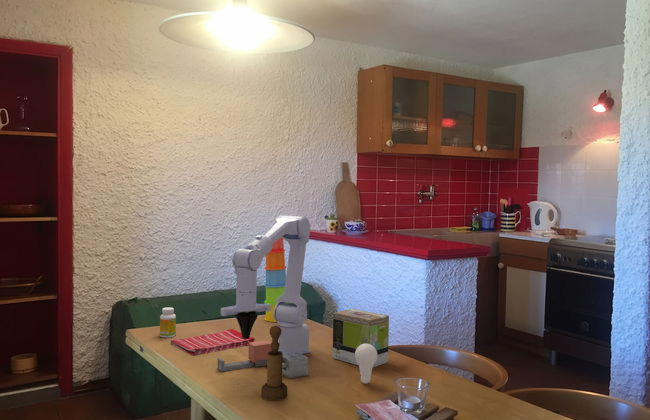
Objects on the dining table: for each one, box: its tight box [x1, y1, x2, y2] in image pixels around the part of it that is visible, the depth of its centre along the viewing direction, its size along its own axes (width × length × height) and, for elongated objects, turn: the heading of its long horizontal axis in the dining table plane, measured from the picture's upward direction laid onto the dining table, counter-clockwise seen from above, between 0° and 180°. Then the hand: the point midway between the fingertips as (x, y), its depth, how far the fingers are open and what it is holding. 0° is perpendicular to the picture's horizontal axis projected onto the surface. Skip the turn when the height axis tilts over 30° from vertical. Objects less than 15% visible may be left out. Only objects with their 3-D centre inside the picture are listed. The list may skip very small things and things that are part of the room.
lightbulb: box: [355, 344, 377, 385], centre depth 154 cm, size 6×6×11 cm
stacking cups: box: [263, 237, 289, 323], centre depth 225 cm, size 10×10×35 cm
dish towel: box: [169, 328, 255, 356], centre depth 190 cm, size 17×24×3 cm
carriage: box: [248, 340, 272, 367], centre depth 169 cm, size 6×4×6 cm
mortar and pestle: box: [260, 325, 288, 401], centre depth 144 cm, size 7×6×18 cm
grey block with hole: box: [282, 352, 309, 379], centre depth 161 cm, size 6×6×5 cm
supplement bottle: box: [159, 306, 177, 339], centre depth 198 cm, size 5×5×10 cm
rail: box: [217, 357, 255, 373], centre depth 167 cm, size 18×3×3 cm, turn 120°
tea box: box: [332, 308, 390, 369], centre depth 175 cm, size 15×10×15 cm, turn 47°
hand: (245, 338), depth 161 cm, fingers closed
